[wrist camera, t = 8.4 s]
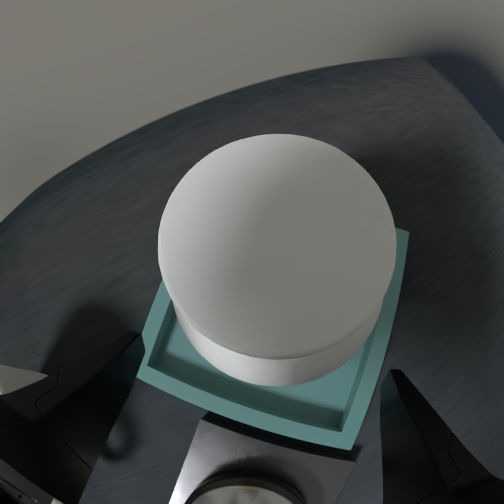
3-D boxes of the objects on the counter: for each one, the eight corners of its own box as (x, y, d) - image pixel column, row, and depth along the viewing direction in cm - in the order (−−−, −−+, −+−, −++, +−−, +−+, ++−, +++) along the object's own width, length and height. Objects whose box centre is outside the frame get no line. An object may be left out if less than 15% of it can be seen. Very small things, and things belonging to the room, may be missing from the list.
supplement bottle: (230, 255, 19) (160, 103, 7) (334, 263, 18) (414, 117, 6) (217, 360, 17) (88, 374, 5) (327, 370, 16) (437, 411, 4)
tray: (344, 441, 15) (350, 450, 13) (141, 371, 17) (128, 372, 16) (399, 241, 19) (409, 232, 17) (213, 188, 21) (208, 175, 19)
